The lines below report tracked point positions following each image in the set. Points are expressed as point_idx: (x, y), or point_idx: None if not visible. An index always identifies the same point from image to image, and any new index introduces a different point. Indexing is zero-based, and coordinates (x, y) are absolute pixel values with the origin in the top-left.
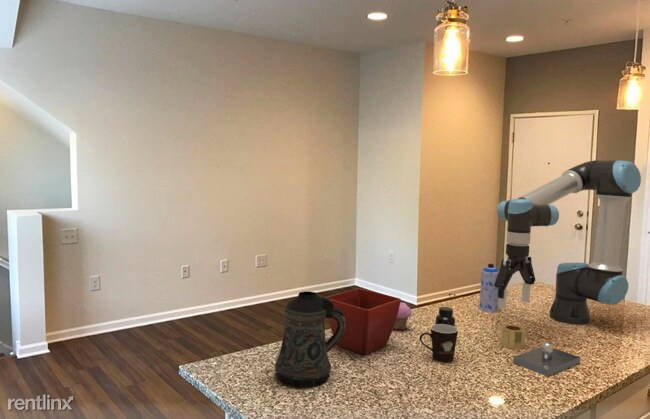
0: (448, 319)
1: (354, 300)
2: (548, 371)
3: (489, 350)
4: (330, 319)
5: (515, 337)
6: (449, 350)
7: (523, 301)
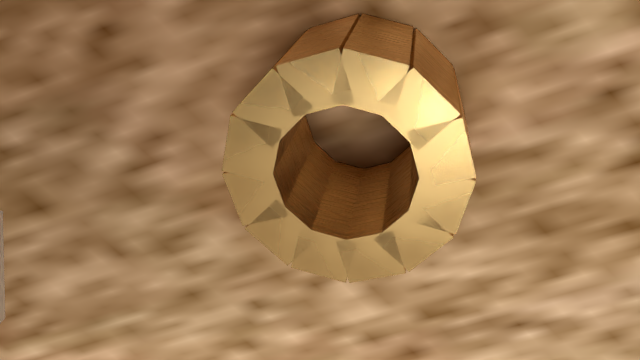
0: None
1: None
2: None
3: (623, 208)
4: None
5: (458, 94)
6: None
7: (4, 289)
